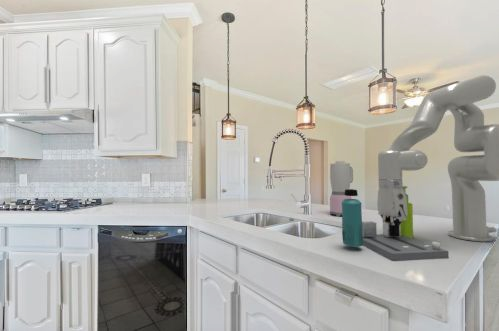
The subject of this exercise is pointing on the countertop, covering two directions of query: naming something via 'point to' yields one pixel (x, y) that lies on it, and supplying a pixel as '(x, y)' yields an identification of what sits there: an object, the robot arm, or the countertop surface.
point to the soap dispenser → (407, 220)
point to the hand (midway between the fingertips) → (391, 234)
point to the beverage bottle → (352, 220)
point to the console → (404, 248)
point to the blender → (339, 185)
